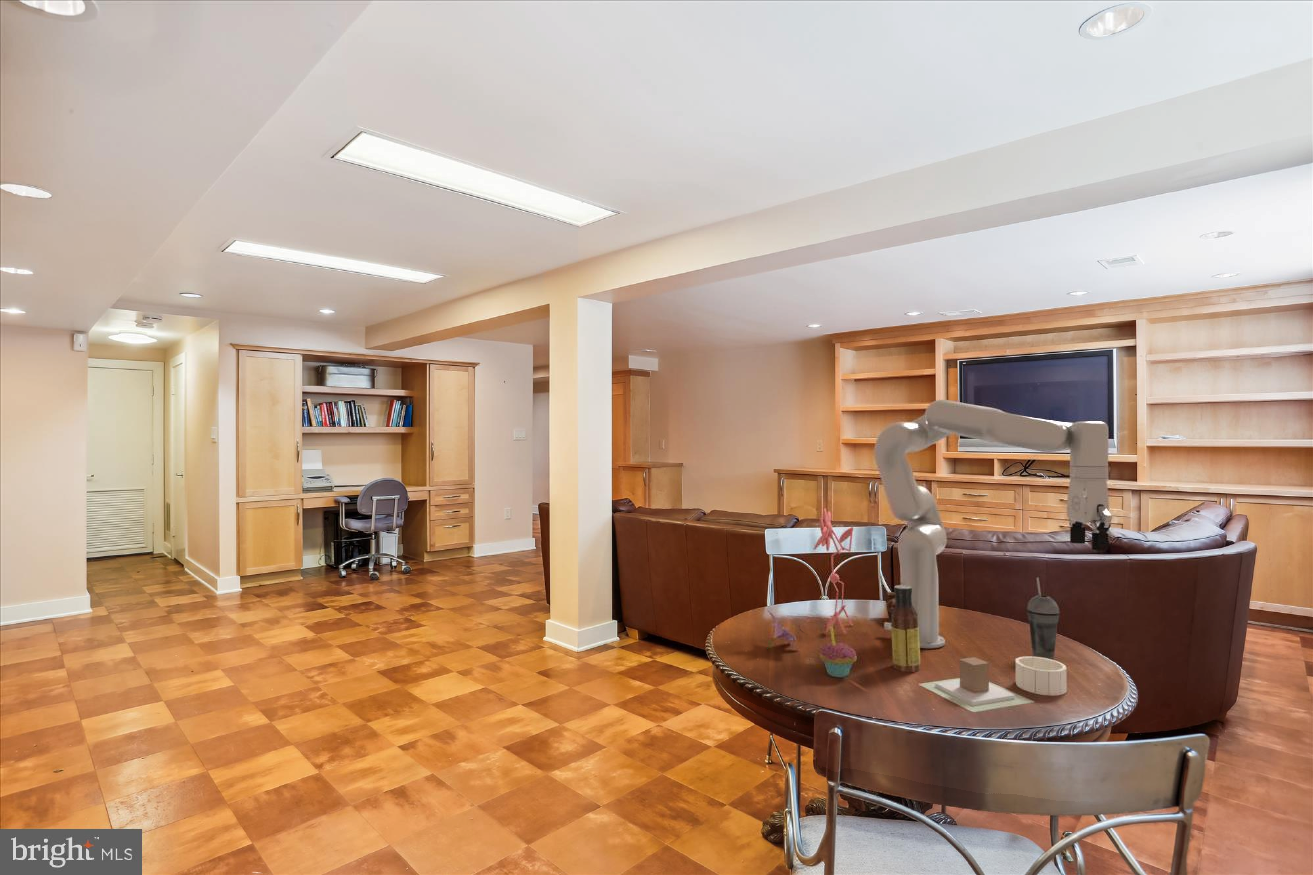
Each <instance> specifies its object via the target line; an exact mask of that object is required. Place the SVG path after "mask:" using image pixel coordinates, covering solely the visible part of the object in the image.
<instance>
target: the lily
mask: <svg viewBox="0 0 1313 875" xmlns="http://www.w3.org/2000/svg"><path fill="white" fill-rule="evenodd" d="M766 611H767V612H768V613H769V614H770V616H771V617H772V619H773V621H774V622H772V623H771V626H773V628H774V636H773V638H772V639H771V640H770V643H769V645H768V646H767V649H768V648H769V649H770V647H771V645H772V643H773V642H774V640H775V639H777V638H778V639H783V640H785V641H786V642H788V643H789V644H790V643H791V644H790V645H792V646H793V648H795V650H796V651H797V650H798V648H797V646H796V645H795V644H794V642H793V641H794V640H797V638H796V636H795V635H794V634H793V633H792V632H791V631H790V630H789V628H788V627H787V626H784V627H783V626H782V624H781V622H780V621H779V620H778V619H777V618H776V617H775V615H774V614H773V613H772V612H771V611H770V610H769V609H767V608H766Z"/></svg>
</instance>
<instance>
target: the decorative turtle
mask: <svg viewBox="0 0 1313 875" xmlns="http://www.w3.org/2000/svg"><path fill="white" fill-rule="evenodd" d="M884 597H885V598H884V599H885V606H886V608H885V609H886V611H887V615H888V619H889V620H890V621H891V612H892V610H893V608H894V607H895V592H894V591H888V592H887V593H886V594H885V596H884Z"/></svg>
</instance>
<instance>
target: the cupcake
mask: <svg viewBox="0 0 1313 875" xmlns="http://www.w3.org/2000/svg"><path fill="white" fill-rule="evenodd" d="M830 625H831V624H830ZM833 627H834V626H833ZM833 627H832V626H831V627H830V630H829V632H830V637H831V642H829V643H826V644H824V645H823V646H822V647H820V649H819V658H820V659H821V661H822V662H823V663H824V665H825V668H826V672H827V674H828V675H829V676H831V677H835V678H845V677H846V676H848V675H849V674H850V670H851V668H852V665H853V663H854V664H855V663H856V662H857V660H858V658H857V652H856V650H855V649H854V648H852V647H851V646H850V645H848V644H846V643H845V642H839V641H835V632H834V628H833Z"/></svg>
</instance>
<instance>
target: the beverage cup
mask: <svg viewBox="0 0 1313 875" xmlns="http://www.w3.org/2000/svg"><path fill="white" fill-rule="evenodd" d="M1036 584H1037V585H1036V586H1037V591H1038V594H1037V595H1035V596H1033V597H1031V598H1030V600H1029V601H1028V602H1027V606H1026V614H1027V618H1028V624H1029V634H1030V642H1031V643H1030V644H1031V651H1032V657H1033V656H1034V657H1041V658H1047V659H1051V660H1055V659H1054V658H1055V651H1056V641H1057V631H1058V622H1059V618H1060V613H1061V612H1060V608H1059V605H1058V604H1057V602H1056V601H1055V600H1054V599H1053V598H1052V597H1051V596H1048V595H1046V594H1042V593H1041V585H1040V578H1039V577H1036Z"/></svg>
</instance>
